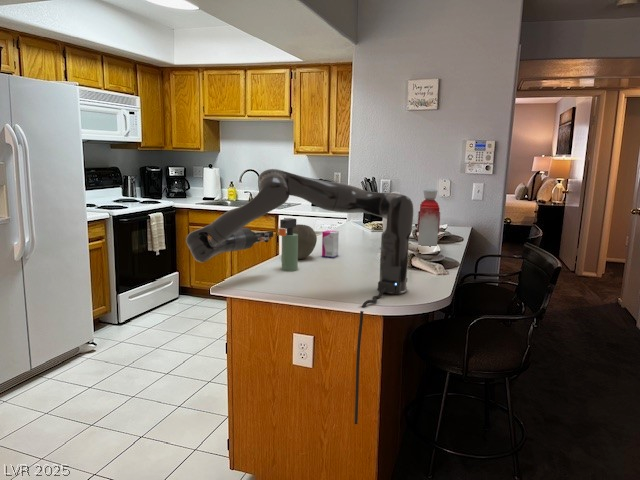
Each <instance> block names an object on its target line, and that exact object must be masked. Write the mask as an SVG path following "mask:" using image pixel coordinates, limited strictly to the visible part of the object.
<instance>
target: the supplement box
mask: <svg viewBox="0 0 640 480" xmlns="http://www.w3.org/2000/svg"><path fill="white" fill-rule="evenodd" d="M339 234H340V231H338V230H325V231H324V230H323V231H322V236H321V237H322V239H321V257H322V258H329V259H335V258H337V257H339V237H340V235H339Z"/></svg>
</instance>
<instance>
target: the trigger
mask: <svg viewBox="0 0 640 480" xmlns="http://www.w3.org/2000/svg"><path fill="white" fill-rule="evenodd" d="M286 233H287V229H285V228H278V236H280V237H282V236H286Z"/></svg>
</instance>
